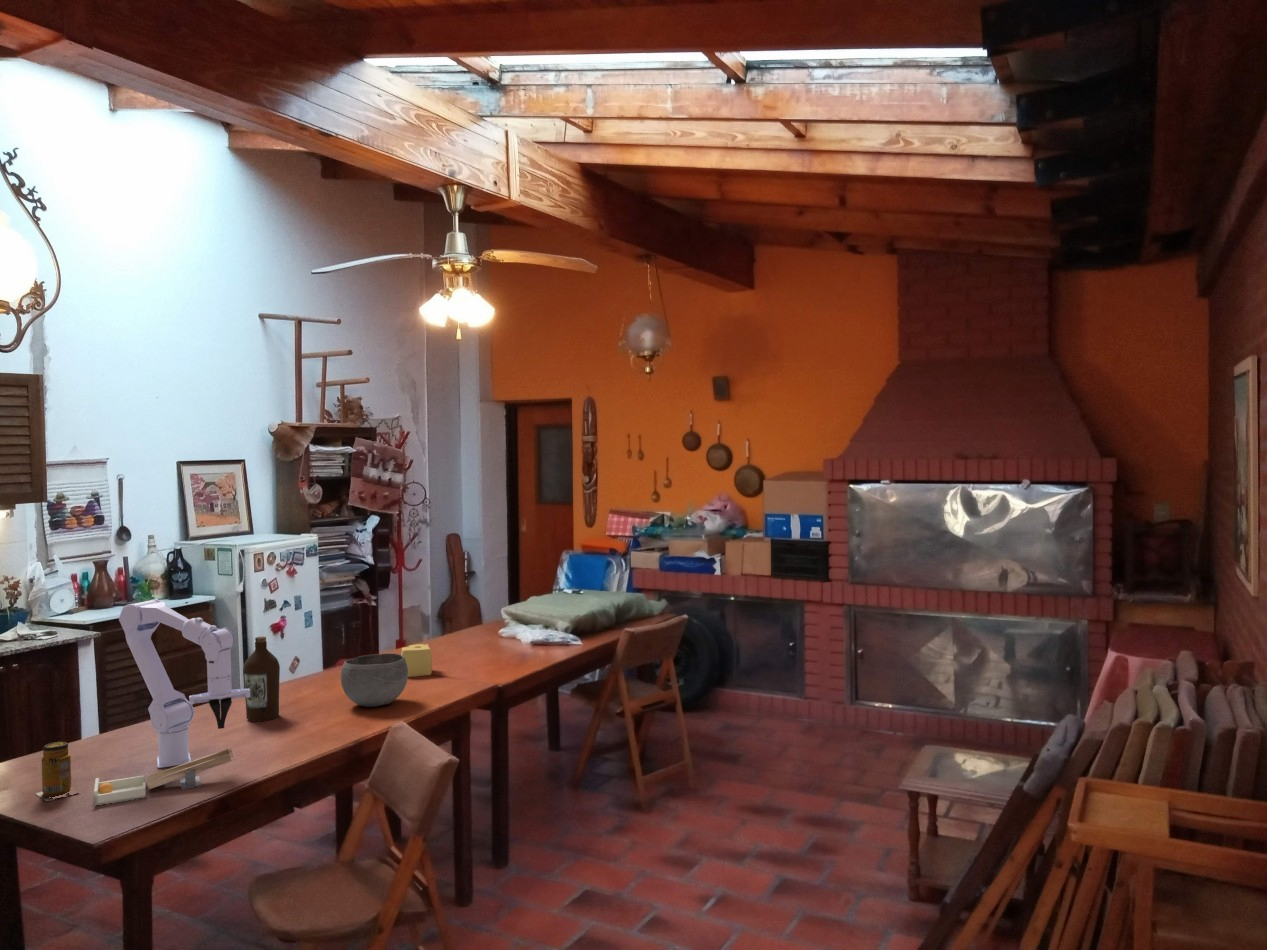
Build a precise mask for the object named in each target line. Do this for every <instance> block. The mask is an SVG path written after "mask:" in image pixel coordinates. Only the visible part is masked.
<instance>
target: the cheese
mask: <svg viewBox="0 0 1267 950" xmlns="http://www.w3.org/2000/svg"><path fill="white" fill-rule="evenodd" d="M400 655H403V656H404V658H405V660H406V663H407V667H408V678H413V677H422V676H431V675H432V670H433V654H432V651H431V647H430V646H429V644H428V643H418V644H411V645H408V646H407V647H406V646H404V647H401V651H400Z"/></svg>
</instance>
